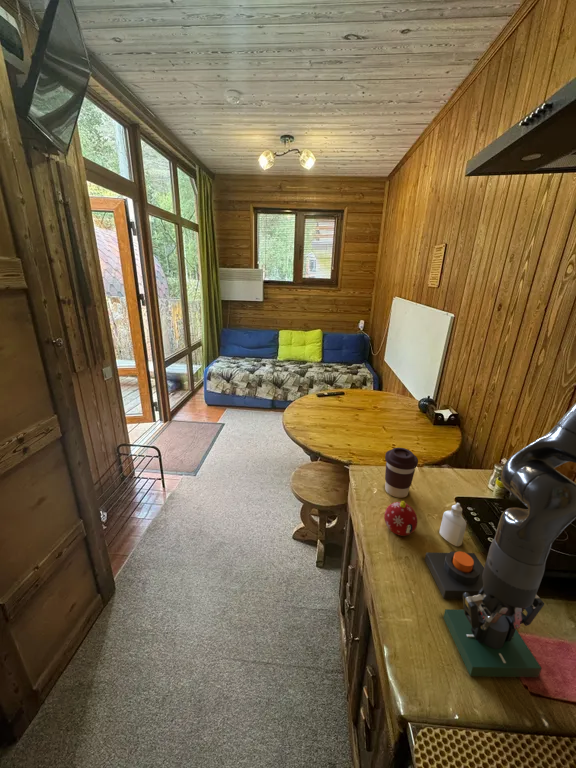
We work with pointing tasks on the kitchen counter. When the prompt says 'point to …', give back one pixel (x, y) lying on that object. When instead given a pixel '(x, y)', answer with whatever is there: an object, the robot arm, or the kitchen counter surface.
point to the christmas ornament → (400, 518)
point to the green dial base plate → (490, 651)
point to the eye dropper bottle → (453, 525)
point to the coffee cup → (399, 471)
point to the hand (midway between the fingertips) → (491, 636)
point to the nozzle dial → (497, 633)
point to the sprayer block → (454, 575)
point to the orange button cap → (463, 562)
